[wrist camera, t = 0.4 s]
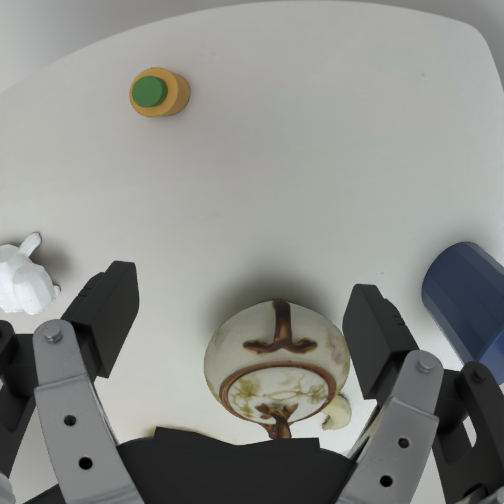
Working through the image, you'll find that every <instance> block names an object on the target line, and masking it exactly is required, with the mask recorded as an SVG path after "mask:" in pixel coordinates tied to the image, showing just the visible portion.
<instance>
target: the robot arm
mask: <svg viewBox="0 0 504 504" xmlns="http://www.w3.org/2000/svg"><path fill="white" fill-rule="evenodd" d="M138 309H139V291H138V282H137V273H136V266H135V264H134V263H133V262H124V261H113V262H112V264H111V265H110V266H109V268H108V269H107V270H106V272H105V273H104V272H100V273H98V274H97V275H95V276H94V277H92V278H91V279H90V280H89V281H88V282H87V283H86V285H85V286H84V287H83V289H82V290H81V291H80V292H79V294H78V296H76V298H75V299H74V300H73V302H72V303H71V304H70V306H69V307H68V309H67V310H66V311H65V313H64V314H63V315H62V317H61V318H60V319H54V320H49V321H47V322H44V323H43V324H41V325H40V326H39V327H38V328H37V329H36V330H35V332H34V334H15V332H14V329H13V327H12V325H11V324H10V323H9V322H8V321H4V320H0V379H1V380H2V382H3V386H2V388H1V390H0V504H15V502H16V500H15V496H14V495H13V493H12V492H13V491H12V486H11V483H10V482H9V480H8V479H9V476H10V473H11V470H12V467H13V464H14V461H15V458H16V455H17V452H18V449H19V447H20V444H21V441H22V439H23V436H24V433H25V431H26V428H27V426H28V423H29V421H30V418H31V416H32V414H33V411H34V409H35V407H36V405H37V410H38V414H39V419H40V423H41V427H42V431H43V435H44V439H45V443H46V446H47V450H48V453H49V456H50V460H51V463H52V466H53V469H54V472H55V475H56V478H57V481H58V484H56V485H55V486H53V487H51V488H50V489H48V490H46V491H44V492H43V493H41V494H39V495H38V496H36V497H34V498H32V499H30V500H29V501H27V502H25V503H23V504H410V502H411V500H412V498H413V495H414V493H415V491H416V488H417V486H418V483H419V481H420V478H421V476H422V473H423V470H424V468H425V464H426V462H427V459H428V456H429V453H430V450H431V447H432V450H433V454H434V457H435V461H436V465H437V468H438V472H439V476H440V480H441V484H442V488H443V493H444V497H445V501H446V504H504V395H503V393H502V391H501V389H500V387H499V385H498V384H497V382H496V380H495V378H494V376H493V374H492V373H491V371H490V370H489V369H488V368H487V367H486V366H485V365H483V364H482V363H480V362H477V361H469V362H467V363H465V365H464V366H463V368H462V369H461V371H460V372H459V371H454V370H448V369H443V366H442V364H441V362H440V361H439V359H438V358H437V357H436V356H434V355H433V354H431V353H429V352H427V351H423V350H420V349H419V347H418V345H417V343H416V342H415V340H414V338H413V336H412V334H411V333H410V331H409V329H408V327H407V326H405V322H404V320H403V318H401V315H400V313H399V311H398V310H397V308H396V307H395V306H394V305H393V304H392V303H391V302H390V301H389V300H387V299H384V298H383V297H382V295H381V293H380V291H379V290H378V288H377V286H376V285H368V284H355V286H354V287H353V290H352V293H351V296H350V299H349V302H348V305H347V308H346V311H345V314H344V317H343V323H342V329H343V334H344V337H345V340H346V343H347V346H348V349H349V353H350V356H351V359H352V362H353V365H354V368H355V372H356V375H357V378H358V381H359V385H360V388H361V391H362V395H363V398H364V400H368V399H376V400H377V403H378V404H377V405H376V407H375V408H374V410H373V412H372V414H371V415H370V417H369V419H368V421H367V423H366V425H365V427H364V428H363V430H362V432H361V434H360V436H359V437H358V439H357V441H356V443H355V444H354V446H353V447H352V449H351V450H350V452H349V453H348V455H347V456H346V457H345V456H343V455H341V454H339V453H336V452H334V451H330V450H327V449H323V448H320V444H319V438H279V439H274V440H269V441H264V442H258V443H253V444H247V445H233V444H230V443H226V442H223V441H220V440H217V439H214V438H210V437H207V436H204V435H202V434H199V433H196V432H188V431H181V430H175V429H168V428H163V427H157V426H156V431H155V435H154V437H144V438H138V439H134V440H130V441H127V442H125V443H122V444H120V443H119V441H118V439H117V437H116V435H115V433H114V431H113V429H112V427H111V425H110V423H109V420H108V418H107V416H106V413H105V411H104V408H103V406H102V403H101V401H100V398H99V396H98V393H97V391H96V388H95V386H94V381H95V379H96V377H97V376H99V377H104V378H109V375H110V373H111V371H112V368H113V366H114V364H115V362H116V359H117V357H118V355H119V352H120V350H121V348H122V346H123V344H124V341H125V339H126V337H127V335H128V333H129V330H130V328H131V326H132V324H133V322H134V320H135V318H136V316H137V313H138ZM468 416H470V419H471V421H472V424H473V426H474V429H475V431H476V435H477V438H476V443H475V445H474V447H473V448H472V446H471V443H470V441H469V438H468V435H467V432H466V430H465V427H464V425H463V421H464V420H465V419H466V418H467V417H468Z"/></svg>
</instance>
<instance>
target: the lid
mask: <svg viewBox="0 0 504 504" xmlns="http://www.w3.org/2000/svg"><path fill="white" fill-rule="evenodd" d="M475 361H477V362H480V363H482V364H483V365H485V366H486V367H487V368H488V369H489V370H490V371H491V373H492V374H493V376H494V378H495V380H496V382H497V384H498V385H501V384H502V383H504V323H503V324H502V325H501V326H500V327H499V328H498V329H497V331H496V332H495V333H494V334H493V335H492V336H491V338H490V339H489V340H488V341H487V343H486V344H485V346H484V347H483V348H482V350H481V351H480V353H479V354H478V356H477V358H476V359H475Z"/></svg>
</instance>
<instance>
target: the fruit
mask: <svg viewBox="0 0 504 504" xmlns="http://www.w3.org/2000/svg"><path fill="white" fill-rule="evenodd" d="M320 412H323V413H325V414H328V415H329V416H330V418H329V420H328V421H327V423H326V424H325V425H324V426H323V427H322V429H323V430H328V429H330V430H336V429H340V428H343V427H345V426H346V425H348V424H349V422H350V420H351V407H350V405H349V403H348V402H347V401H346V400H345V399H344V398H342V397H341V396H339V395H336V397H335V398H334V399H333V400H332V401H331V403H330V404H329V405H328V406H327V407H325V408H324V409H323V410H322V411H320Z"/></svg>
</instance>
